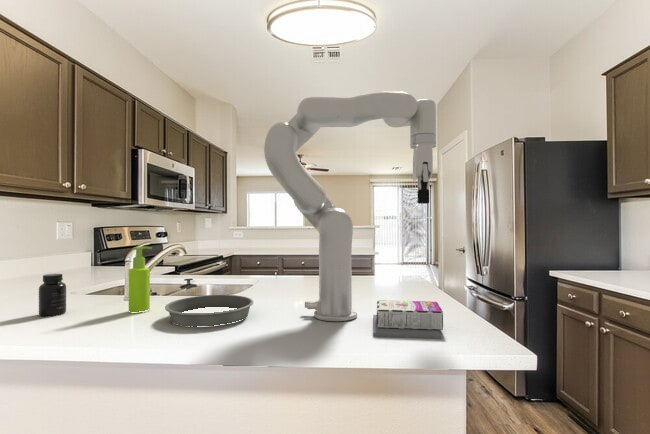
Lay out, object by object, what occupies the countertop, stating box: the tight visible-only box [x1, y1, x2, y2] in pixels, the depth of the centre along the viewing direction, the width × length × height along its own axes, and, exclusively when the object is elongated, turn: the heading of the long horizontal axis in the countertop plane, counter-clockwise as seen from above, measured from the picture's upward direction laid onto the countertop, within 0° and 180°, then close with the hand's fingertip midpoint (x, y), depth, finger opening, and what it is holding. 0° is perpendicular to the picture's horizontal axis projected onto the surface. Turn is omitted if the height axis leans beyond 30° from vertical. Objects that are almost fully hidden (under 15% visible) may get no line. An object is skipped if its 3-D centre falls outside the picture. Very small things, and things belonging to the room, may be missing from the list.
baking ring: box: [164, 294, 254, 328], centre depth 112 cm, size 25×25×4 cm
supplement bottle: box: [38, 273, 67, 318], centre depth 116 cm, size 7×7×12 cm
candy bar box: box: [376, 299, 444, 331], centre depth 101 cm, size 11×5×16 cm
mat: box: [372, 314, 443, 339], centre depth 101 cm, size 16×18×1 cm
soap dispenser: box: [128, 246, 153, 312], centre depth 120 cm, size 6×7×20 cm
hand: (423, 203), depth 115 cm, fingers closed
